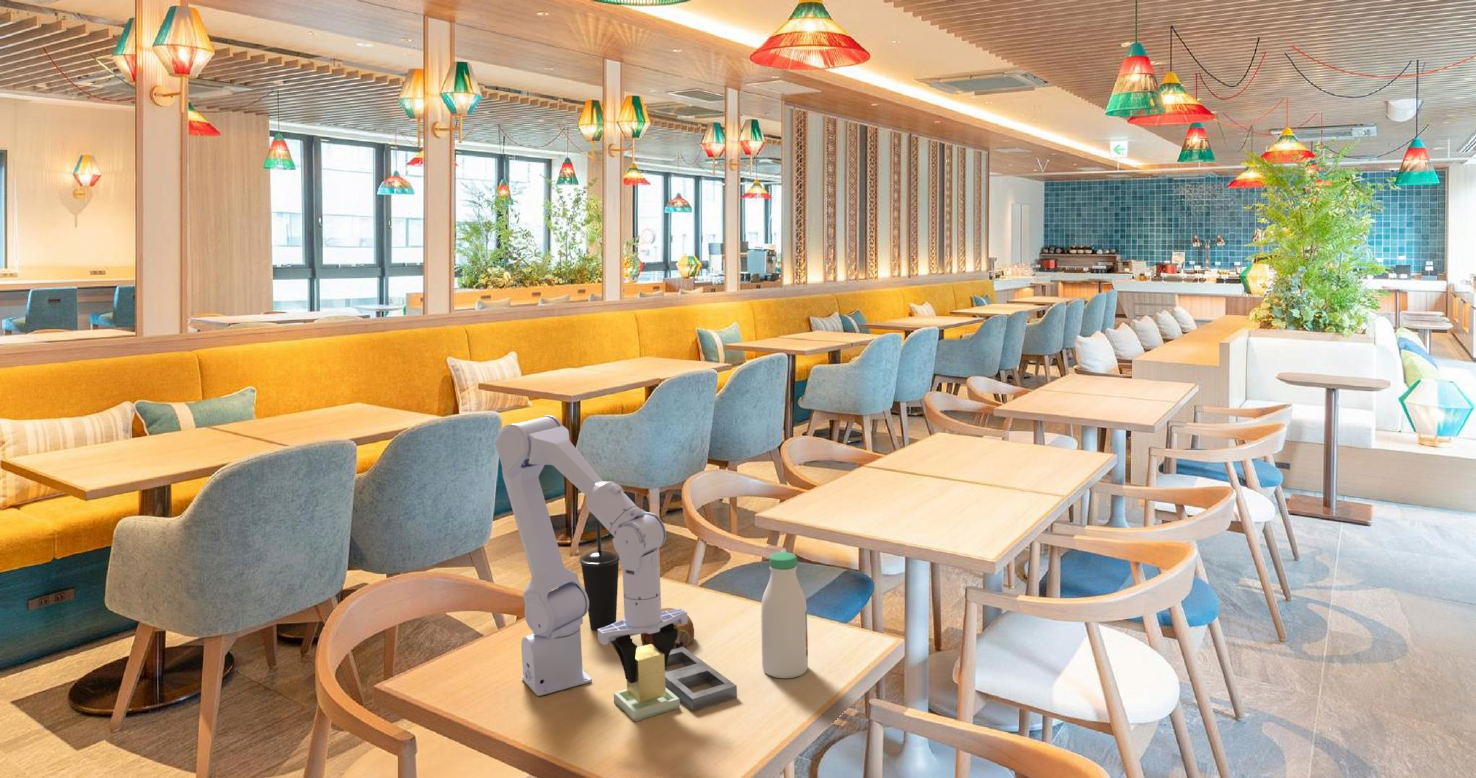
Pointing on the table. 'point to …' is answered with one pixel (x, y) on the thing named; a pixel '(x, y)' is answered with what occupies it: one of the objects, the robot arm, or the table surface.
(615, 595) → the drinking cup
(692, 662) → the grey flat frame
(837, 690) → the table surface
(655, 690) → the wood grain cuboid
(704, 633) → the table surface
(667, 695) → the tray
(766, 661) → the milk bottle
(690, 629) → the bread roll
